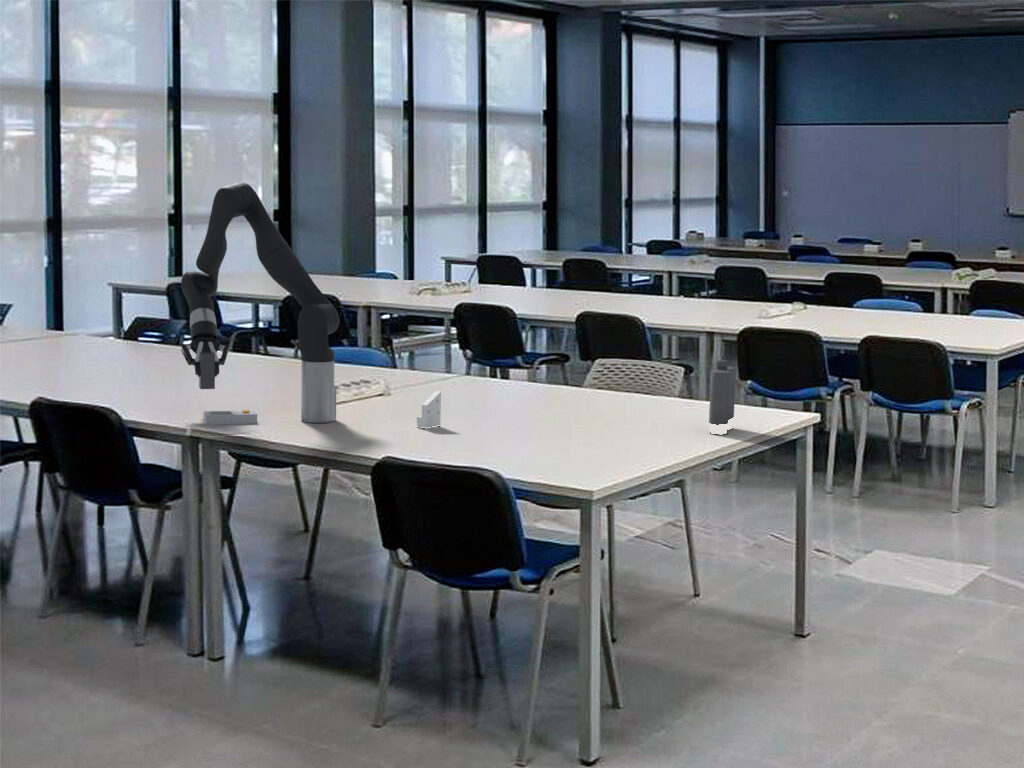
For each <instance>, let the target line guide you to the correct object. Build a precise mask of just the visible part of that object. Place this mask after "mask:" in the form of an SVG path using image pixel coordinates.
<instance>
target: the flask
mask: <svg viewBox="0 0 1024 768" xmlns="http://www.w3.org/2000/svg"><path fill="white" fill-rule="evenodd" d="M729 365H730V364H729V361H728V360H724V359H723V360H722V359H718V360H717V361H716V360H715V368H713V369H711V371H710V387H709V390H710V391H709V392H710V394H709V411H708V413H709V414H708V416H709V417H708V418H709V419H708V424H709V423H711V424H716V425H719V424H727V423H728V420H729V419H731V418H733V417H735V397H736V396H735V395H736V375H737V374H736V373H737V368H736V367H733V366H729Z"/></svg>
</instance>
